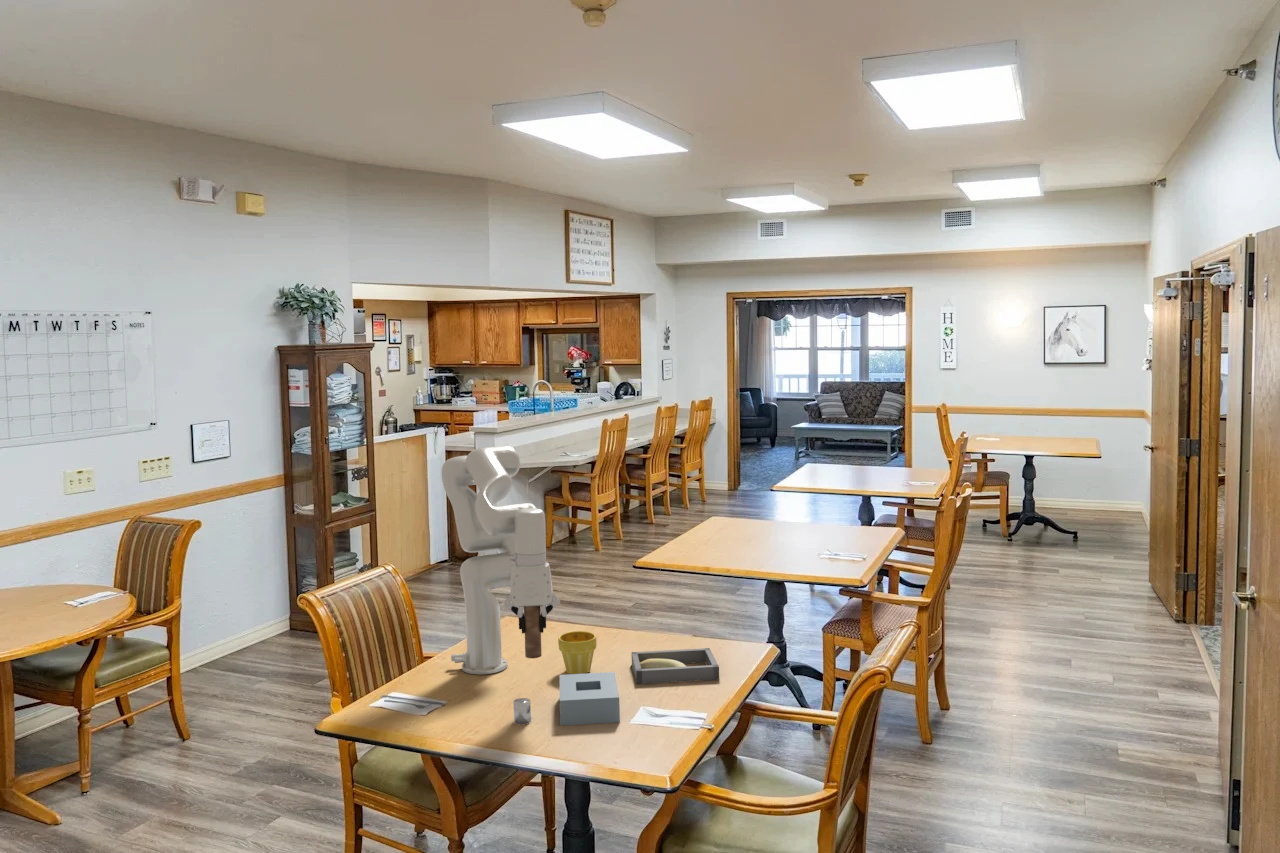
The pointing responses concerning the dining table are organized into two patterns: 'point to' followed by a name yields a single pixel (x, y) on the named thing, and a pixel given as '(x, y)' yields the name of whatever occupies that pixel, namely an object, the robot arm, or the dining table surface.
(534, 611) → the long walnut pin
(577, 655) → the plant pot
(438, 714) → the dining table surface
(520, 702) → the short steel pin
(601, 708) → the hole block
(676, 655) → the tray
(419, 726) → the dining table surface
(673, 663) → the fruit
